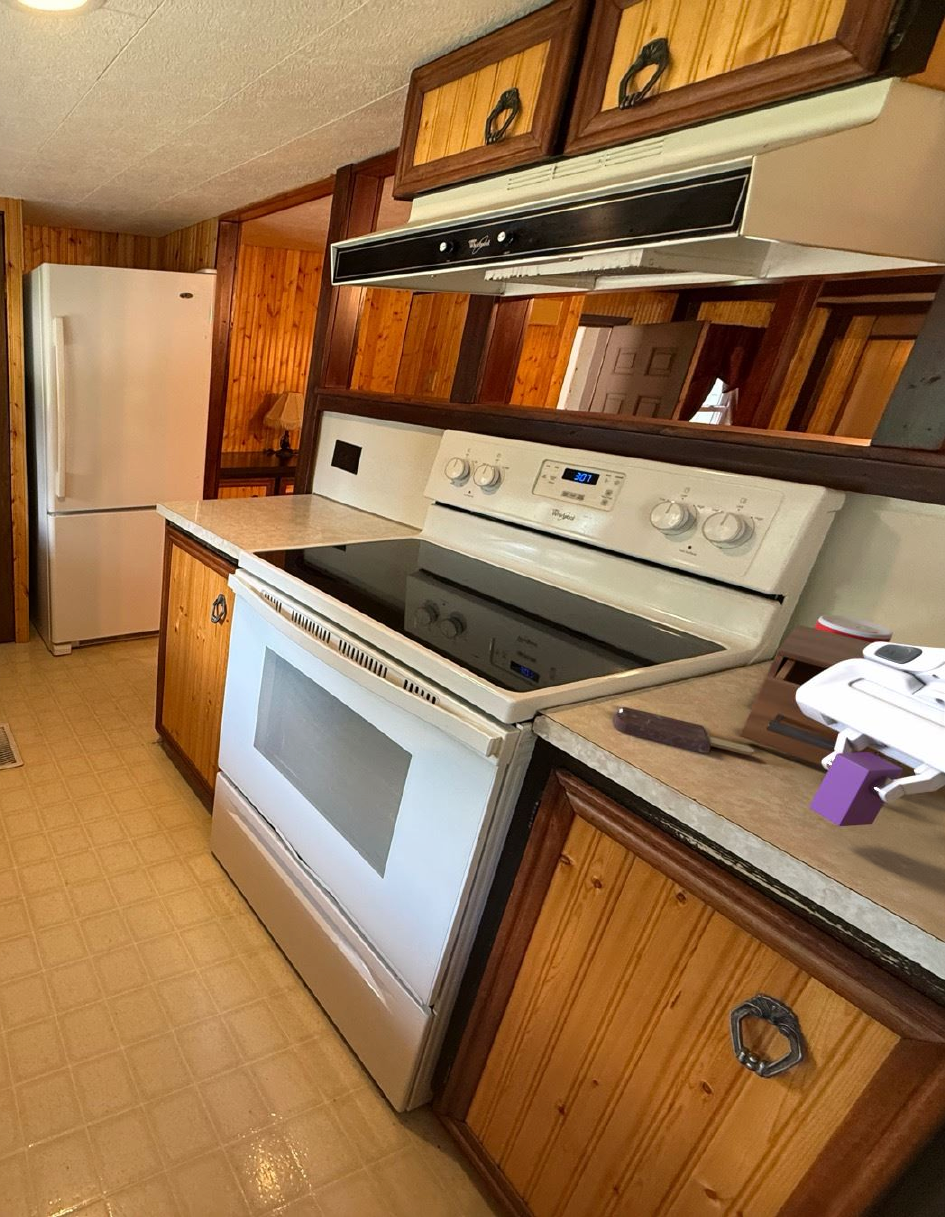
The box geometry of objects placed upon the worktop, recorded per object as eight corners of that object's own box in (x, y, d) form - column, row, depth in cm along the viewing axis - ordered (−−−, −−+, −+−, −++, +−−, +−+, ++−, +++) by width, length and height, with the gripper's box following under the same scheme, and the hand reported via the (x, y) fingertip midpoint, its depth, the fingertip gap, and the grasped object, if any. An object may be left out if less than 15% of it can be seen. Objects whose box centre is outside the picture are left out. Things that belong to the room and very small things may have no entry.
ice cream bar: (746, 747, 86) (610, 713, 93) (750, 737, 86) (614, 703, 93) (755, 767, 82) (613, 730, 89) (761, 756, 82) (616, 720, 89)
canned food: (858, 705, 98) (893, 639, 94) (787, 685, 104) (817, 621, 100) (861, 690, 103) (894, 626, 99) (793, 671, 109) (821, 610, 105)
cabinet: (873, 756, 85) (912, 685, 81) (748, 715, 94) (778, 649, 90) (884, 719, 95) (920, 654, 91) (770, 685, 104) (797, 624, 100)
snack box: (840, 805, 71) (869, 751, 68) (872, 824, 68) (904, 768, 66) (808, 807, 70) (836, 753, 68) (839, 826, 68) (869, 770, 65)
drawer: (855, 793, 76) (891, 728, 73) (731, 748, 84) (757, 688, 81) (873, 739, 88) (904, 681, 84) (761, 704, 96) (786, 650, 93)
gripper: (1146, 777, 57) (992, 871, 59) (873, 669, 75) (766, 744, 78) (1134, 735, 54) (975, 835, 57) (857, 634, 73) (747, 713, 76)
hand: (852, 781), depth 68 cm, fingers closed on snack box, 3 cm apart
